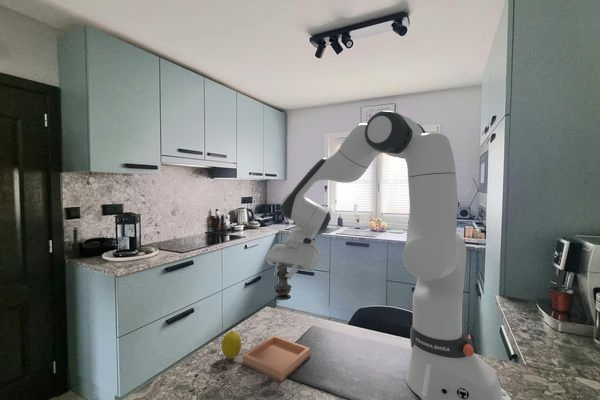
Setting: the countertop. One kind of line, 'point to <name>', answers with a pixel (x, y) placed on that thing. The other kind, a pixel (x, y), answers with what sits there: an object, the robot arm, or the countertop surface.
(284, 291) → the dark grey chess piece
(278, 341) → the tray
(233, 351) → the lemon
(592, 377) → the countertop surface
